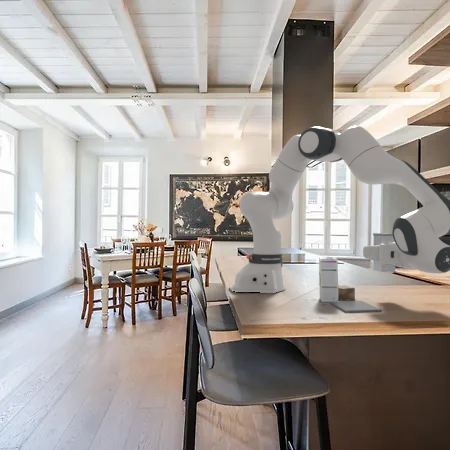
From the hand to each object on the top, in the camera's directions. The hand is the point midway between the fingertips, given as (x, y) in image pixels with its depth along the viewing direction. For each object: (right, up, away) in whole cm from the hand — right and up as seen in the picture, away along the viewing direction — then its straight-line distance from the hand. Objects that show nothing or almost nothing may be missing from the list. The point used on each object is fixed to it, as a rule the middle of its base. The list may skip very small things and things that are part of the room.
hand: (381, 250), depth 115 cm
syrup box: (-20, -17, -5) cm, 27 cm away
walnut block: (-14, -17, -1) cm, 22 cm away
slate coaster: (-16, -17, -14) cm, 27 cm away
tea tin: (0, -7, -1) cm, 7 cm away
